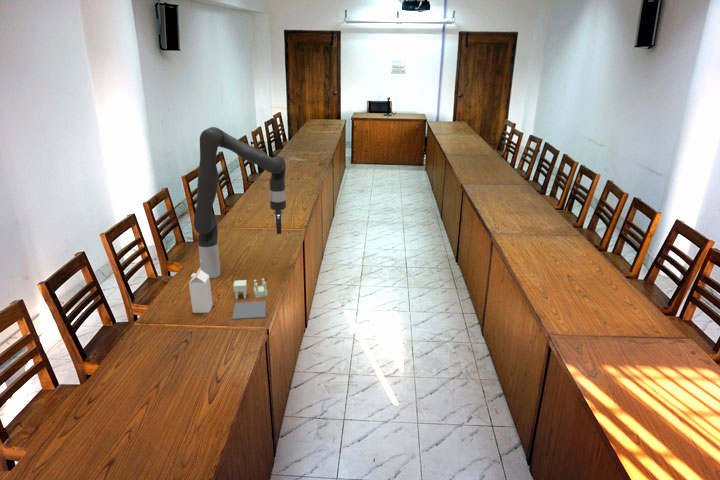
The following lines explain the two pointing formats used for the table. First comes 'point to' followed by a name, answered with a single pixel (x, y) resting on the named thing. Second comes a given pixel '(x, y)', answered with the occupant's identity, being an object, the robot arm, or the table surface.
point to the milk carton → (200, 292)
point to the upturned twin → (260, 289)
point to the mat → (249, 310)
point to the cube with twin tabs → (240, 288)
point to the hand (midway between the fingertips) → (279, 230)
